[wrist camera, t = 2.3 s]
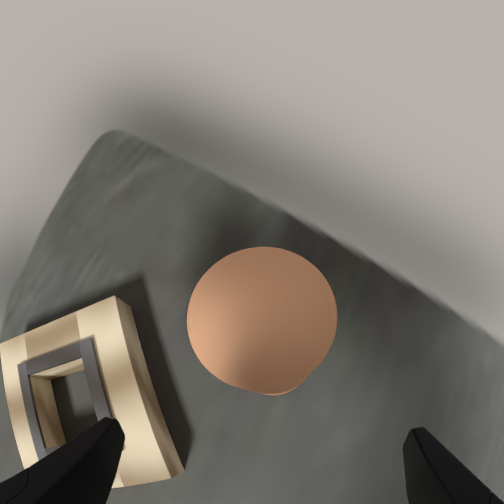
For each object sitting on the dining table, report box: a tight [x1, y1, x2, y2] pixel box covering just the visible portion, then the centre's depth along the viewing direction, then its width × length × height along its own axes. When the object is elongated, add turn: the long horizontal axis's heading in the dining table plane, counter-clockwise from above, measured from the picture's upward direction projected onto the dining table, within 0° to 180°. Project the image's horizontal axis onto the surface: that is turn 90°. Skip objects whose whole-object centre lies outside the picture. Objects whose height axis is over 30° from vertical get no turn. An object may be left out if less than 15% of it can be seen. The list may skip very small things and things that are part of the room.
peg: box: [187, 247, 337, 396], centre depth 14 cm, size 4×4×12 cm
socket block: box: [0, 295, 184, 488], centre depth 17 cm, size 12×12×3 cm
